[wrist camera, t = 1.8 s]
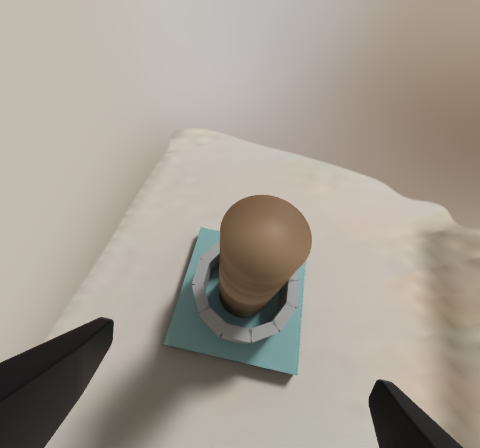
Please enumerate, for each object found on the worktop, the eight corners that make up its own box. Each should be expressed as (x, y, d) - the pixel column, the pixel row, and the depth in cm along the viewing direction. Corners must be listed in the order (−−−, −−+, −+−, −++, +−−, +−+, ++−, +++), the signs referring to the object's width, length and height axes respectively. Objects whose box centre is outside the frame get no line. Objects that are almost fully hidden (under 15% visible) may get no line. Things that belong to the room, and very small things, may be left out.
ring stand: (293, 374, 18) (311, 378, 15) (166, 344, 19) (154, 342, 15) (303, 254, 23) (318, 236, 20) (201, 232, 24) (198, 210, 20)
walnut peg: (262, 322, 19) (308, 288, 10) (213, 311, 19) (209, 265, 10) (270, 274, 21) (314, 205, 11) (224, 264, 21) (231, 187, 12)
